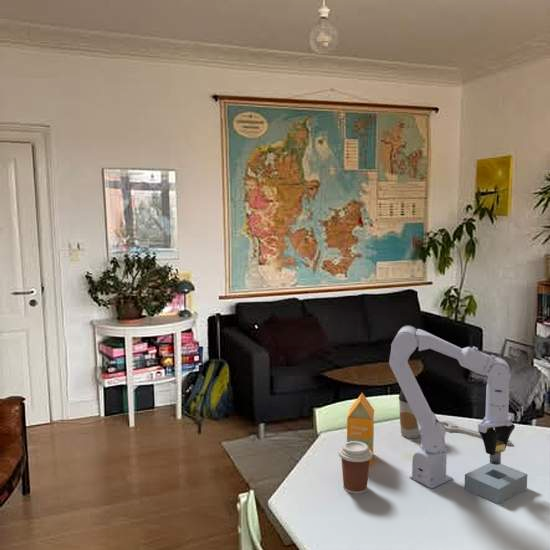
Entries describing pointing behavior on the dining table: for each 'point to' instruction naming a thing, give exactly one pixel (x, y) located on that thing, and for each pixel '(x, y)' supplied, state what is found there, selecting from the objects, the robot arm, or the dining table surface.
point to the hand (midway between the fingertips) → (495, 451)
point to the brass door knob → (497, 453)
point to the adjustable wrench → (463, 430)
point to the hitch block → (495, 482)
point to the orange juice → (361, 423)
